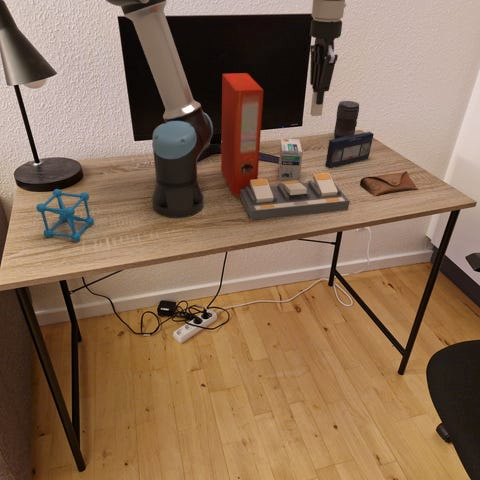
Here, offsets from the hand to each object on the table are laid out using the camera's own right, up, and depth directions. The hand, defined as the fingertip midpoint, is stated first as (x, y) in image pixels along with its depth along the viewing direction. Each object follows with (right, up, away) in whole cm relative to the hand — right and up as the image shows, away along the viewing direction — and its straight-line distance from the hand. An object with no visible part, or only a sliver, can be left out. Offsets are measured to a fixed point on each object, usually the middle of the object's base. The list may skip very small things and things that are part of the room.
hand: (316, 114), depth 118 cm
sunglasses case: (+28, -18, +23) cm, 41 cm away
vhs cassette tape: (+18, -7, +38) cm, 42 cm away
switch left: (-15, -20, +8) cm, 26 cm away
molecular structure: (-66, -32, -2) cm, 74 cm away
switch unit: (-5, -23, +13) cm, 27 cm away
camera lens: (+20, +5, +54) cm, 58 cm away
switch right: (+5, -18, +13) cm, 22 cm away
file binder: (-21, -15, +23) cm, 35 cm away
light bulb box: (-4, -12, +29) cm, 31 cm away
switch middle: (-5, -19, +10) cm, 22 cm away
